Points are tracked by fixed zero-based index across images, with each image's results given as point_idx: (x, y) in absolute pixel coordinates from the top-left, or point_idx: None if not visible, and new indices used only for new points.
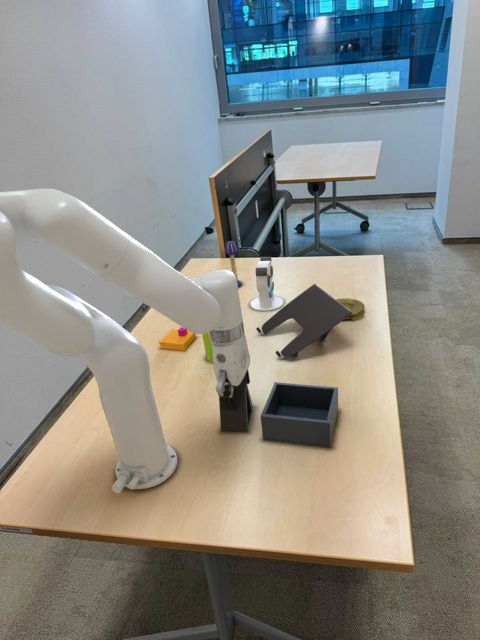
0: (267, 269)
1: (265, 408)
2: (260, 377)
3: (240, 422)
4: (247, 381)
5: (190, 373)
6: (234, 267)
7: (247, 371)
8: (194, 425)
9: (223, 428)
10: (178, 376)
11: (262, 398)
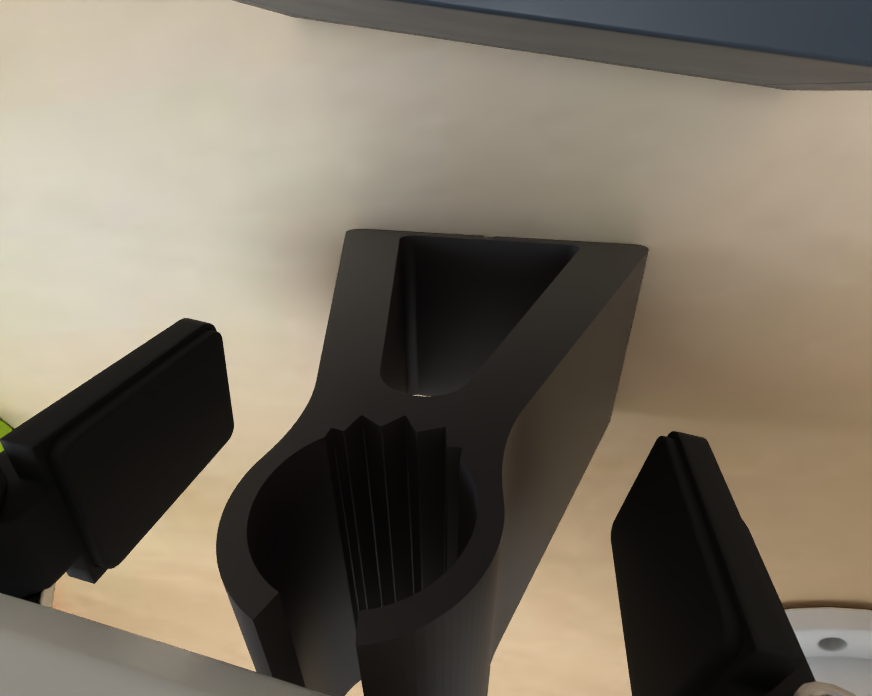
0: None
1: (804, 15)
2: (34, 203)
3: (622, 321)
4: (197, 355)
5: (149, 537)
6: None
7: (58, 431)
8: None
9: (608, 413)
10: (183, 573)
11: (238, 163)
